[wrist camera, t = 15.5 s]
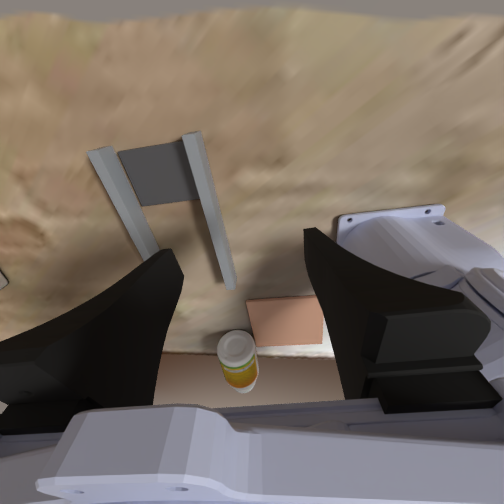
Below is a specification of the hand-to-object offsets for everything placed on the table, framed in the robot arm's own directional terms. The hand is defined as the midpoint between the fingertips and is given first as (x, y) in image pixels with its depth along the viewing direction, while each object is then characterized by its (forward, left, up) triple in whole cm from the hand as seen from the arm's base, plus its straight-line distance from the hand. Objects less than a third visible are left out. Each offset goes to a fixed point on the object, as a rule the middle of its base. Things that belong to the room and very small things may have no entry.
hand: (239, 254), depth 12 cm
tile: (-2, +20, -11) cm, 22 cm away
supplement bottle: (+5, +20, -8) cm, 22 cm away
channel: (+8, +3, -11) cm, 13 cm away
